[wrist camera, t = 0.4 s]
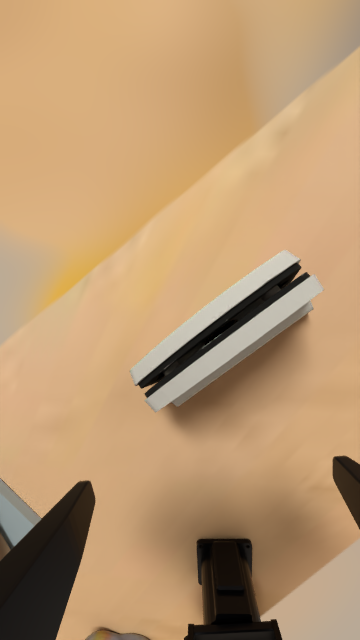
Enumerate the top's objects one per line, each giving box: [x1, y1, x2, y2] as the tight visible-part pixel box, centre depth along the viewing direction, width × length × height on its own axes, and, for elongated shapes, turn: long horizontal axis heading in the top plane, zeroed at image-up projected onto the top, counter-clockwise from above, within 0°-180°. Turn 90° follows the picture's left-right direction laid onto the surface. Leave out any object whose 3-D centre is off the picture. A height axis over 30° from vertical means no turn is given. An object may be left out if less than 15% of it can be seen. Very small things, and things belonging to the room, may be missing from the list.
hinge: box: [130, 250, 324, 412], centre depth 19 cm, size 17×5×10 cm, turn 129°
